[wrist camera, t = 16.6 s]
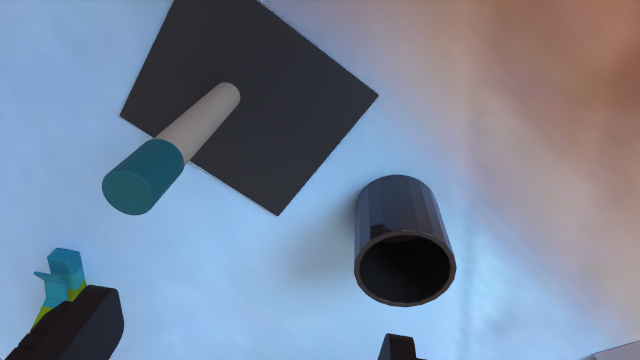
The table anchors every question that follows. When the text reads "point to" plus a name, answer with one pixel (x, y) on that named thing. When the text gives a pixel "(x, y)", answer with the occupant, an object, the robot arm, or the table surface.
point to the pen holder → (401, 243)
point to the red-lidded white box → (621, 353)
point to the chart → (61, 279)
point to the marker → (167, 153)
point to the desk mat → (249, 95)
